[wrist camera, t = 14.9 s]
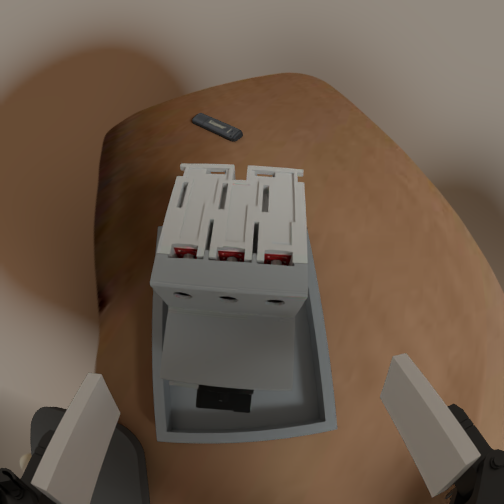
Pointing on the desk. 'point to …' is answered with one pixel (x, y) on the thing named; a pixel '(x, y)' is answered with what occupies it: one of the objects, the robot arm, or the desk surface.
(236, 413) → the tray
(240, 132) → the usb stick
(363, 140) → the desk surface
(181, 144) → the desk surface
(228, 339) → the circuit breaker
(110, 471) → the media streaming box
